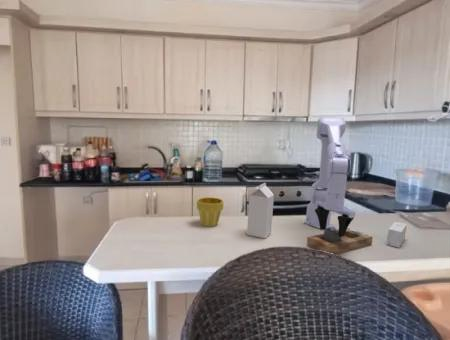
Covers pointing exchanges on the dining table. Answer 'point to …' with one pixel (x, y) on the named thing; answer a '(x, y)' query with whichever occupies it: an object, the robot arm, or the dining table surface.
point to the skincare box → (396, 234)
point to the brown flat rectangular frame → (341, 242)
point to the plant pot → (209, 210)
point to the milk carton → (260, 212)
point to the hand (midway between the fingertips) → (331, 232)
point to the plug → (331, 235)
